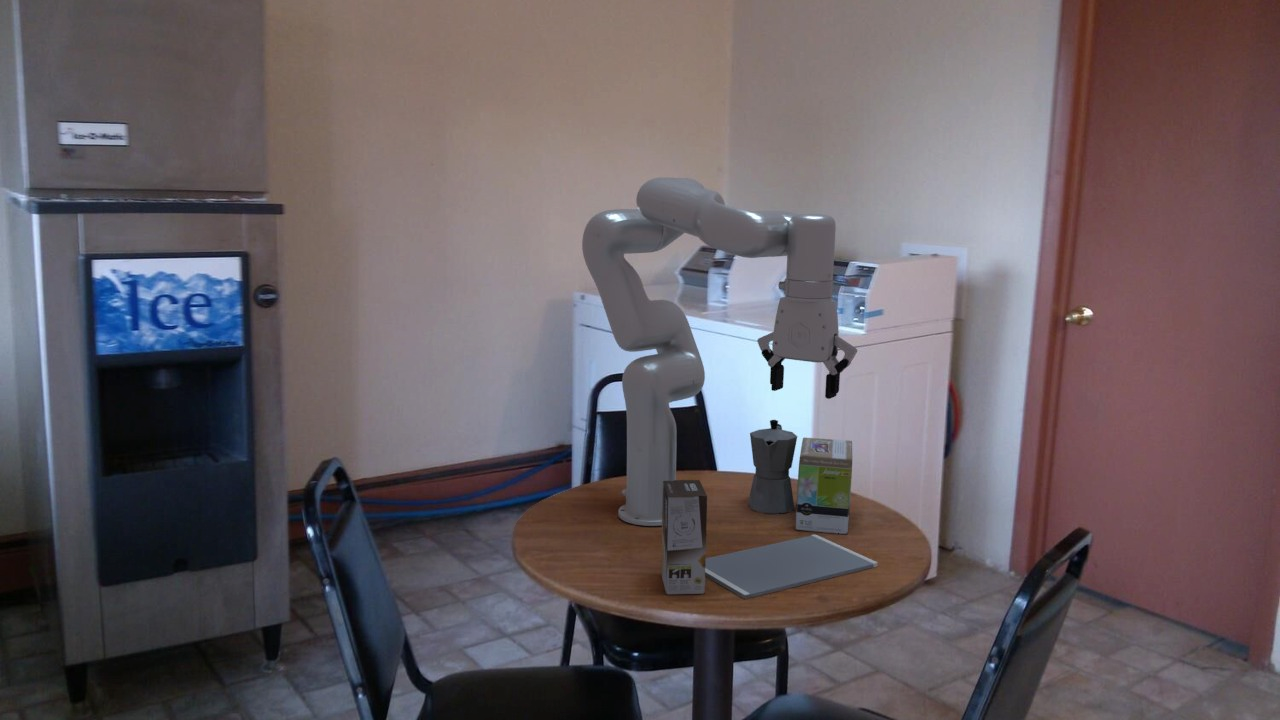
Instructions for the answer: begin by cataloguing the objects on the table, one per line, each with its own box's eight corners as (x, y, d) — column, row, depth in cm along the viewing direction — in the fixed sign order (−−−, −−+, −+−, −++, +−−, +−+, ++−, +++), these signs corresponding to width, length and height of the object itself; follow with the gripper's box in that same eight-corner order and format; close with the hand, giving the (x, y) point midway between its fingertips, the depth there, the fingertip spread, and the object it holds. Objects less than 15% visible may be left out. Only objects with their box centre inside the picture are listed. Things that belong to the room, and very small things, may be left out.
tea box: (849, 535, 183) (853, 458, 180) (794, 531, 185) (797, 454, 182) (849, 510, 197) (852, 438, 195) (798, 506, 199) (801, 435, 197)
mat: (687, 565, 167) (687, 561, 166) (814, 537, 181) (815, 534, 181) (744, 599, 153) (744, 594, 153) (877, 566, 167) (877, 562, 167)
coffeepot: (790, 519, 191) (794, 429, 188) (742, 515, 193) (745, 425, 190) (799, 496, 206) (802, 412, 203) (754, 492, 208) (756, 409, 205)
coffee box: (706, 594, 155) (708, 495, 152) (665, 595, 154) (667, 496, 152) (698, 572, 164) (700, 478, 161) (659, 573, 163) (661, 479, 161)
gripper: (750, 288, 162) (746, 390, 165) (850, 296, 153) (844, 404, 156) (771, 285, 169) (766, 383, 172) (867, 292, 159) (861, 396, 162)
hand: (803, 393), depth 164 cm, fingers open, 9 cm apart
